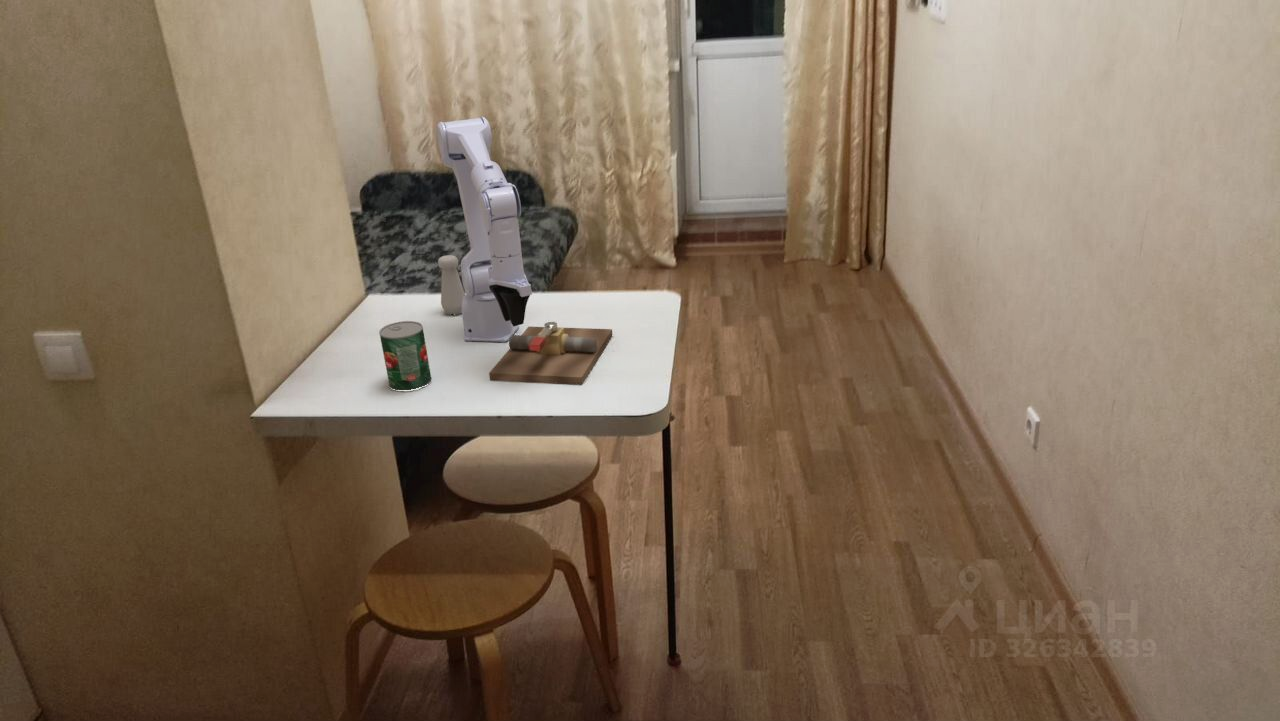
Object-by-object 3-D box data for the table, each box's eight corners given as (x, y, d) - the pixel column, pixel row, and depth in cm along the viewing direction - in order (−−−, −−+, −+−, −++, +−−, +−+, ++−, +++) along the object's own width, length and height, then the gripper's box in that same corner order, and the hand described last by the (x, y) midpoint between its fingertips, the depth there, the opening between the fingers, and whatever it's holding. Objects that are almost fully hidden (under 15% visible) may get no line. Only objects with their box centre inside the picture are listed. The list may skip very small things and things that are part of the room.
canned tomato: (440, 380, 174) (431, 326, 170) (406, 395, 169) (396, 340, 165) (414, 370, 179) (405, 317, 175) (380, 385, 174) (370, 331, 169)
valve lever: (559, 327, 180) (558, 322, 179) (541, 350, 170) (540, 344, 169) (547, 327, 180) (546, 321, 180) (528, 350, 170) (528, 344, 170)
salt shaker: (456, 305, 211) (448, 251, 206) (474, 310, 208) (466, 254, 203) (437, 314, 207) (428, 258, 201) (455, 318, 204) (446, 262, 198)
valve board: (489, 380, 173) (486, 353, 171) (529, 333, 193) (526, 308, 191) (582, 384, 169) (579, 357, 167) (612, 335, 189) (610, 310, 187)
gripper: (469, 248, 172) (479, 316, 178) (502, 267, 161) (511, 338, 166) (504, 240, 175) (512, 307, 181) (538, 258, 164) (546, 329, 170)
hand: (514, 322), depth 174 cm, fingers open, 3 cm apart
